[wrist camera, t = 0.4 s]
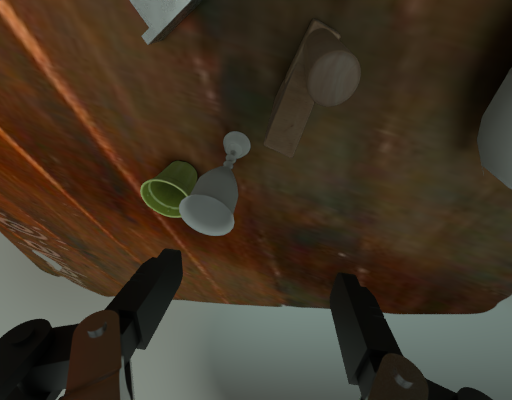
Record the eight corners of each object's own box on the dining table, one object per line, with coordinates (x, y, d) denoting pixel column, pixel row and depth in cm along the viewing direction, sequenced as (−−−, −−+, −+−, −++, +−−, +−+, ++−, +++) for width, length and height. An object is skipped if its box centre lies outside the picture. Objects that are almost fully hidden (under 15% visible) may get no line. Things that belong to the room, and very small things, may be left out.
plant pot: (214, 177, 45) (201, 206, 39) (187, 195, 50) (172, 223, 44) (179, 144, 41) (158, 170, 35) (153, 167, 46) (130, 194, 40)
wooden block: (273, 100, 33) (257, 165, 20) (312, 16, 26) (327, 34, 13) (294, 111, 34) (292, 181, 21) (338, 32, 27) (376, 63, 14)
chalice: (213, 128, 38) (168, 196, 25) (250, 122, 36) (223, 192, 23) (225, 163, 43) (193, 236, 30) (259, 159, 41) (240, 235, 28)
